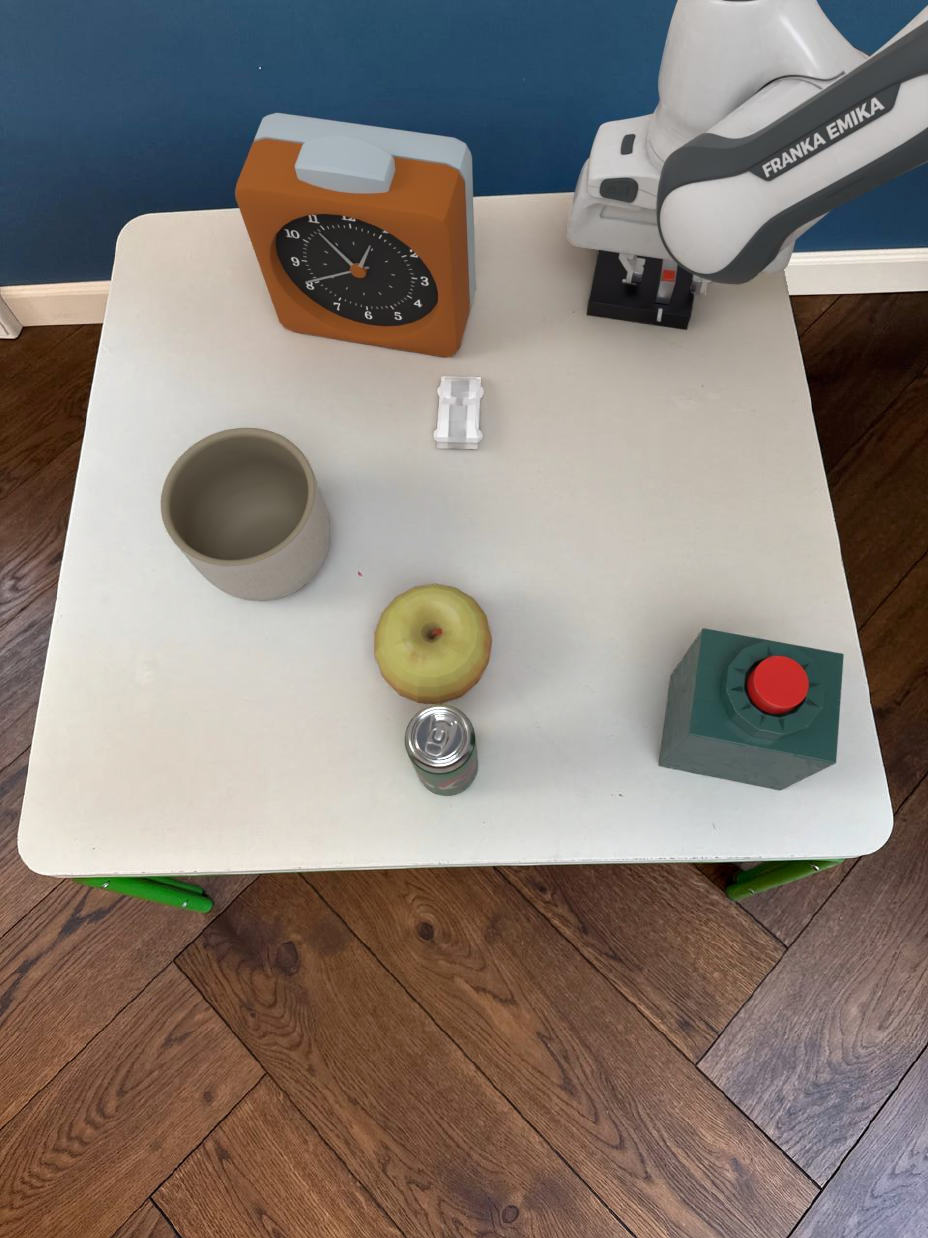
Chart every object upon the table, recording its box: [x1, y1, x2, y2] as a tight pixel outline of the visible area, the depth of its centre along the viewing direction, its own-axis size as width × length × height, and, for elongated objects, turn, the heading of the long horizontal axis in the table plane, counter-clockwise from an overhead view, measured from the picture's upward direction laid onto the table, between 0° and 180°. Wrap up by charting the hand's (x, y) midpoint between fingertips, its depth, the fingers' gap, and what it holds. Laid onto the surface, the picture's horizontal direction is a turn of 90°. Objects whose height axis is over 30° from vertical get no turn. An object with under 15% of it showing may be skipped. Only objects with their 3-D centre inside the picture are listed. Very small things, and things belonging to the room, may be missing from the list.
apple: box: [373, 583, 493, 705], centre depth 72 cm, size 10×10×8 cm
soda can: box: [404, 703, 479, 797], centre depth 67 cm, size 5×5×12 cm
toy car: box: [432, 375, 485, 450], centre depth 83 cm, size 5×8×2 cm, turn 177°
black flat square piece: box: [586, 250, 708, 331], centre depth 87 cm, size 11×11×2 cm
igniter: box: [658, 627, 845, 791], centre depth 66 cm, size 10×8×14 cm
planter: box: [160, 427, 331, 602], centre depth 74 cm, size 12×12×11 cm
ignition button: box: [747, 656, 809, 714], centre depth 59 cm, size 4×4×2 cm
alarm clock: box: [234, 112, 477, 358], centre depth 78 cm, size 18×9×21 cm, turn 77°
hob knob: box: [655, 259, 677, 304], centre depth 84 cm, size 4×1×3 cm, turn 170°
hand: (665, 282), depth 85 cm, fingers open, 5 cm apart
